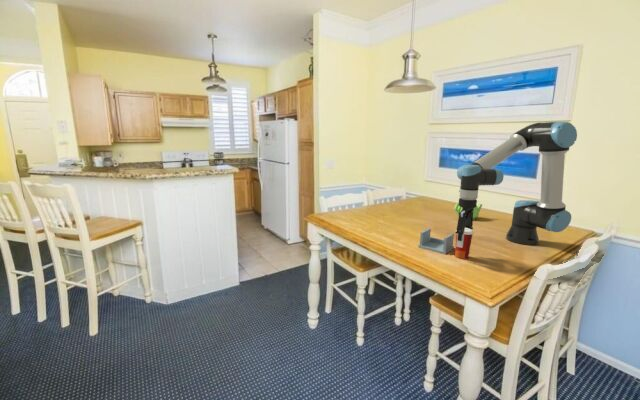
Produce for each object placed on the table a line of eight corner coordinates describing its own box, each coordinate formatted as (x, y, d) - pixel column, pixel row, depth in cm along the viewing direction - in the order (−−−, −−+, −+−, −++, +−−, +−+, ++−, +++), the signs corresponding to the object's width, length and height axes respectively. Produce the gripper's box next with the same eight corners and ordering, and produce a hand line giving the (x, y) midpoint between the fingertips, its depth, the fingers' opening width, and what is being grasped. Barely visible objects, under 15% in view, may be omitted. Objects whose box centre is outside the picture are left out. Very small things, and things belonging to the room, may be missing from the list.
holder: (453, 247, 156) (455, 233, 155) (445, 254, 147) (446, 238, 146) (427, 241, 165) (428, 227, 164) (418, 247, 157) (419, 232, 155)
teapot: (475, 215, 222) (477, 199, 220) (486, 220, 209) (488, 203, 207) (449, 215, 221) (450, 199, 219) (458, 220, 208) (460, 203, 206)
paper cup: (465, 253, 148) (468, 226, 145) (473, 260, 141) (477, 231, 138) (449, 254, 148) (452, 226, 145) (457, 260, 140) (460, 231, 138)
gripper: (466, 194, 149) (462, 237, 153) (451, 200, 133) (446, 248, 138) (483, 196, 144) (477, 240, 148) (469, 203, 128) (463, 252, 133)
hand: (462, 244), depth 143 cm, fingers open, 9 cm apart
